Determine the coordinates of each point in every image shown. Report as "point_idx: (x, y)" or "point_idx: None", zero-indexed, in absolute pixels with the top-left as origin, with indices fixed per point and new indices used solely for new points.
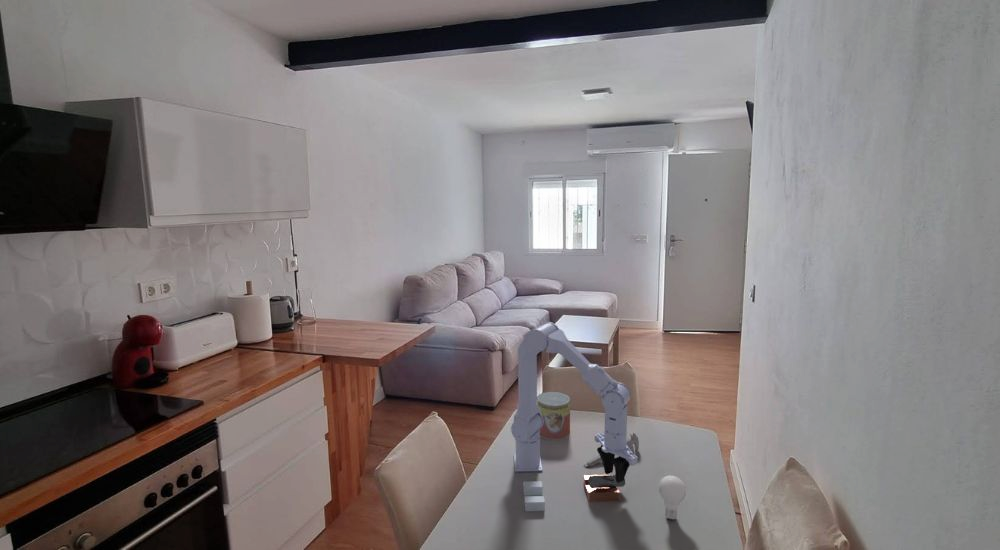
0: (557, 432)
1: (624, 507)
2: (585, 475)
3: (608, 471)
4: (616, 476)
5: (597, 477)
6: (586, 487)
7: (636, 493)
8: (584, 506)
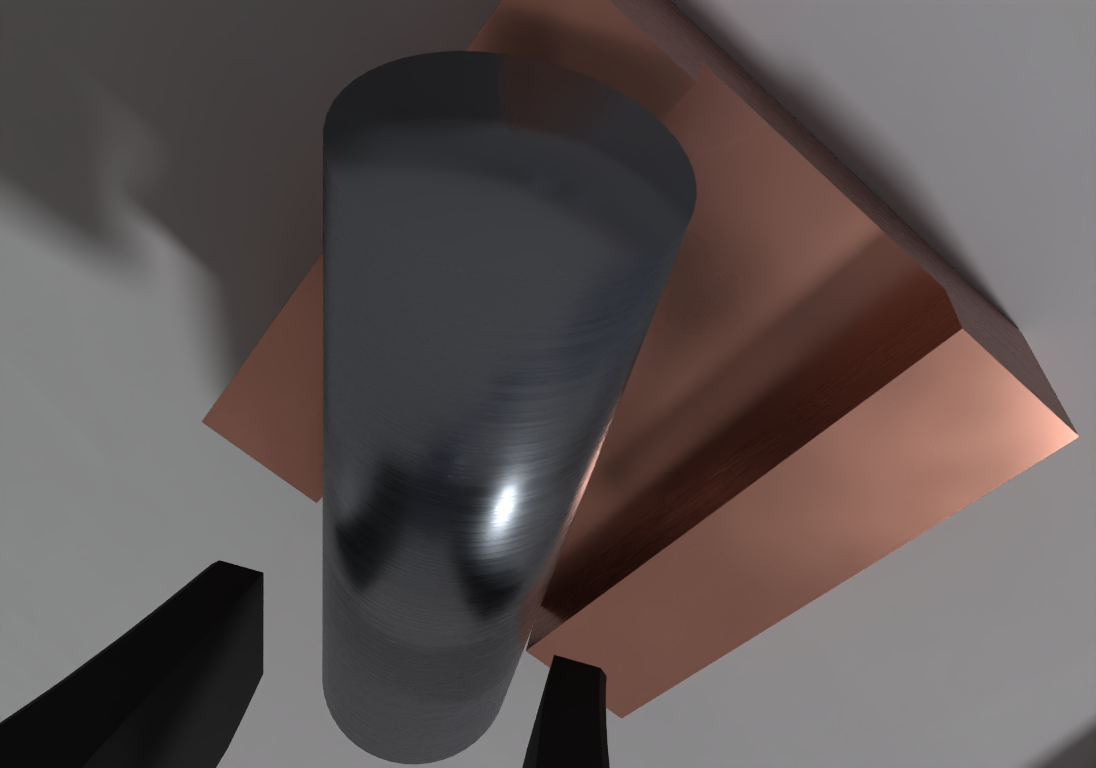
0: None
1: (133, 264)
2: (1038, 452)
3: (535, 729)
4: (148, 655)
5: (399, 357)
6: (820, 172)
7: (288, 595)
8: None
